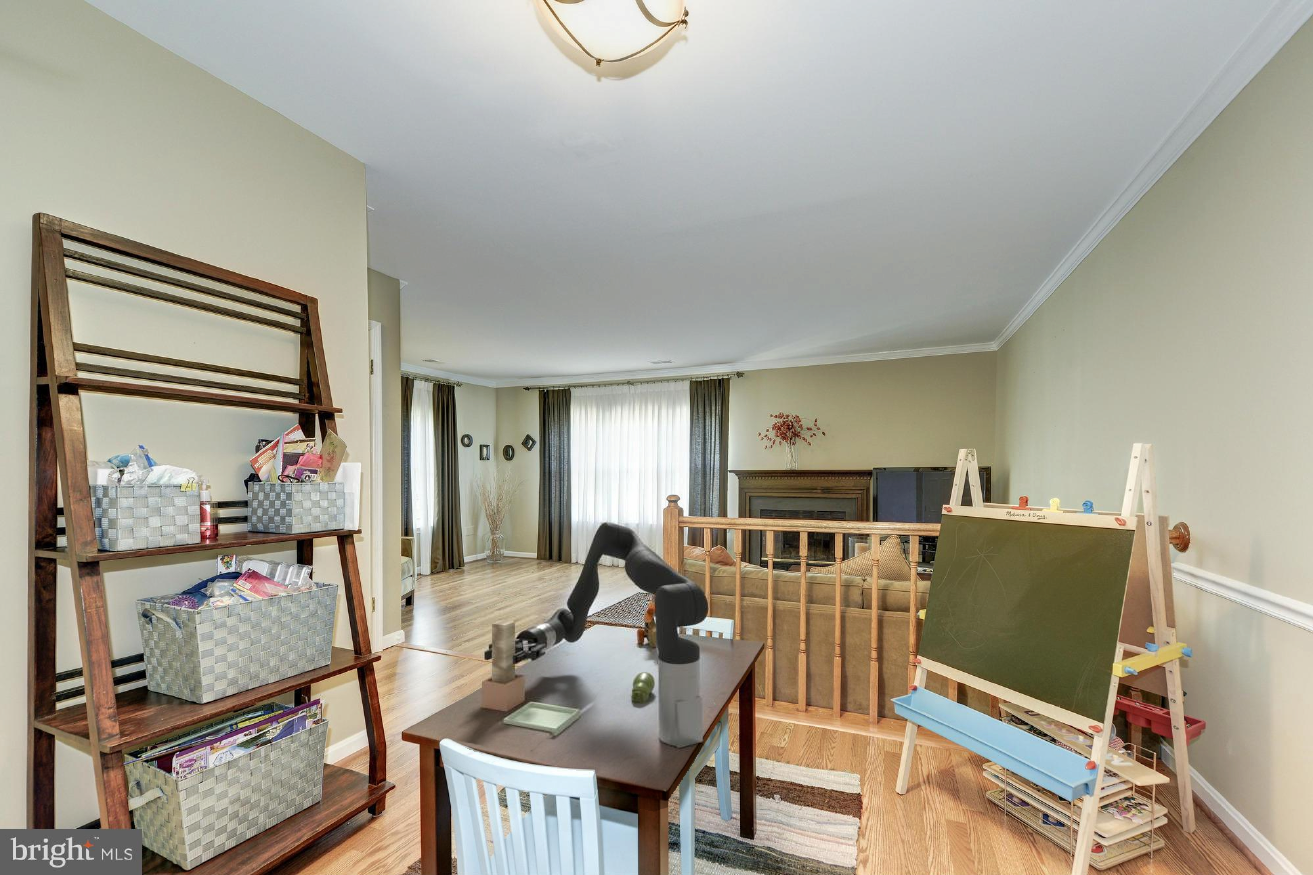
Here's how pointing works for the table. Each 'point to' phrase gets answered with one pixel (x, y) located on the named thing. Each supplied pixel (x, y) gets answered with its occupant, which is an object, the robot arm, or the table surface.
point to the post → (503, 651)
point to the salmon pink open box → (503, 693)
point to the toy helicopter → (648, 627)
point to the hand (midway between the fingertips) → (499, 658)
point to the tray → (543, 717)
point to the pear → (642, 687)
